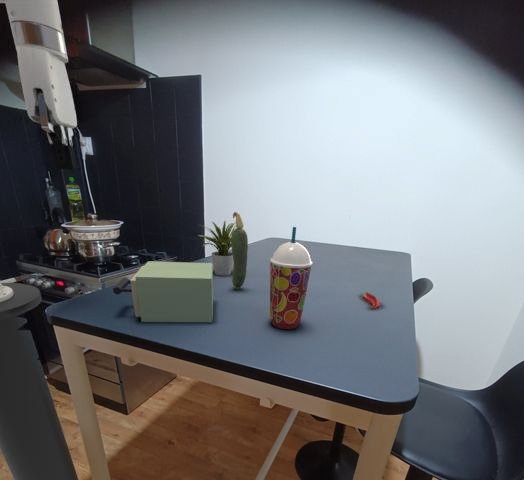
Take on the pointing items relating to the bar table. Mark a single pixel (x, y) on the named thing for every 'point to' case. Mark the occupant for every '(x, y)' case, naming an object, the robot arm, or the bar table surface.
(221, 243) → the house plant
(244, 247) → the vegetable
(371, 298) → the cayenne pepper
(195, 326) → the bar table surface
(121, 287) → the drawer
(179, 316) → the pale green box
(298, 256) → the smoothie
